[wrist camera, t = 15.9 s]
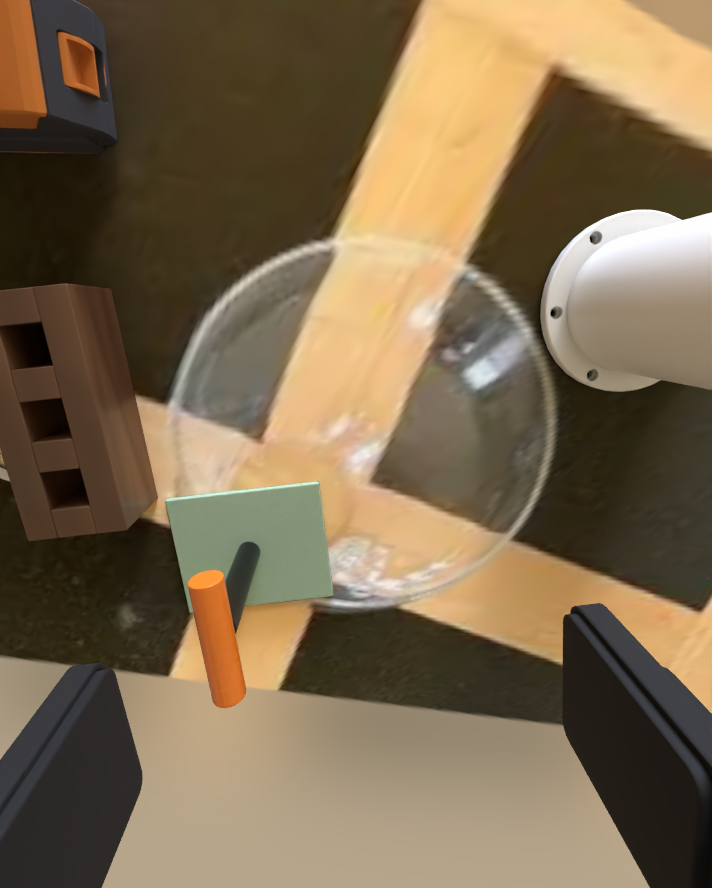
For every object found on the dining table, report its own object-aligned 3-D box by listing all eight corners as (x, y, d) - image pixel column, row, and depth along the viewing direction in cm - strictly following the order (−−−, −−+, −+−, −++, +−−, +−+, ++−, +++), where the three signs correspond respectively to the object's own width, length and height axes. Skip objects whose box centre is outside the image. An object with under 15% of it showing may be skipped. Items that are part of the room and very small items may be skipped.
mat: (318, 480, 39) (318, 483, 38) (333, 592, 41) (333, 596, 41) (167, 498, 38) (164, 500, 38) (191, 608, 41) (189, 613, 40)
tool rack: (111, 288, 34) (66, 283, 29) (158, 498, 38) (127, 530, 33) (17, 298, 34) (-48, 295, 28) (74, 507, 38) (27, 541, 32)
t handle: (253, 503, 38) (219, 585, 27) (268, 593, 40) (243, 706, 29) (228, 506, 38) (182, 590, 27) (244, 596, 40) (209, 710, 29)
